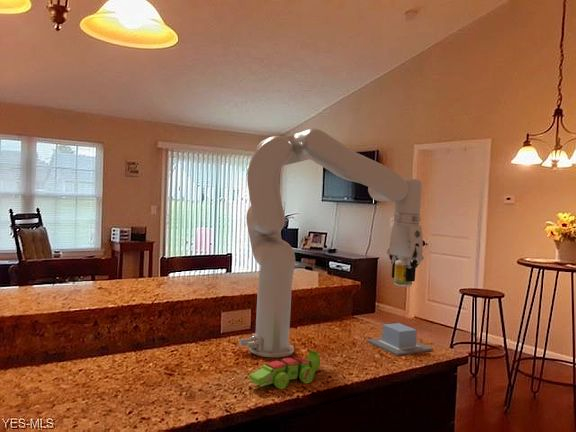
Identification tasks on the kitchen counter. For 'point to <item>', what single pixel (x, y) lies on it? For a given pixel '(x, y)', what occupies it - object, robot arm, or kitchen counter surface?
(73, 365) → the kitchen counter surface
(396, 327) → the light blue block
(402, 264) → the supplement bottle
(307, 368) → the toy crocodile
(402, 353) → the base plate
